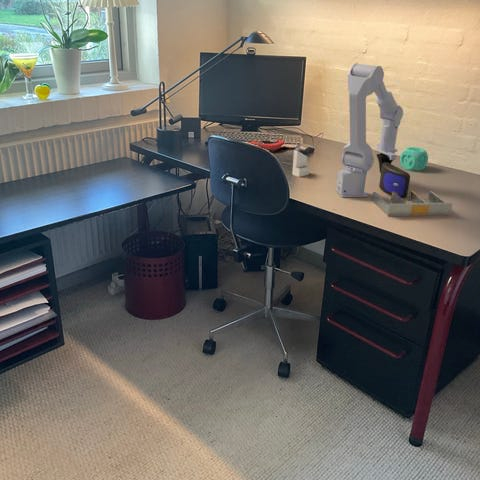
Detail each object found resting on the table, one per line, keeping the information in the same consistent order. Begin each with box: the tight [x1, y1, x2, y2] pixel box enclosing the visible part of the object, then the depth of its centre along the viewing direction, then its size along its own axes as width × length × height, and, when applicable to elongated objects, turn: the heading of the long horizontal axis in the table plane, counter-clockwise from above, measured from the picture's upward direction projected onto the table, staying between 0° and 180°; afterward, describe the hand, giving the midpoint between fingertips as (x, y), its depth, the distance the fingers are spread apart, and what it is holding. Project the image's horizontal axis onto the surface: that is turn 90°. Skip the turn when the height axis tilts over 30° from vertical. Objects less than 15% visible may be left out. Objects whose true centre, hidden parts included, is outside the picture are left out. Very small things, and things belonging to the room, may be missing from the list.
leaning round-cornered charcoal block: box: [378, 162, 411, 200], centre depth 190 cm, size 16×5×9 cm, turn 18°
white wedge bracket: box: [291, 149, 311, 178], centre depth 207 cm, size 4×10×9 cm, turn 129°
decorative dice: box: [399, 146, 429, 172], centre depth 220 cm, size 8×8×8 cm
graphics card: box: [224, 134, 285, 153], centre depth 245 cm, size 20×32×4 cm, turn 62°
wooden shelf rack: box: [371, 190, 453, 217], centre depth 178 cm, size 21×15×4 cm
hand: (383, 173), depth 201 cm, fingers closed
